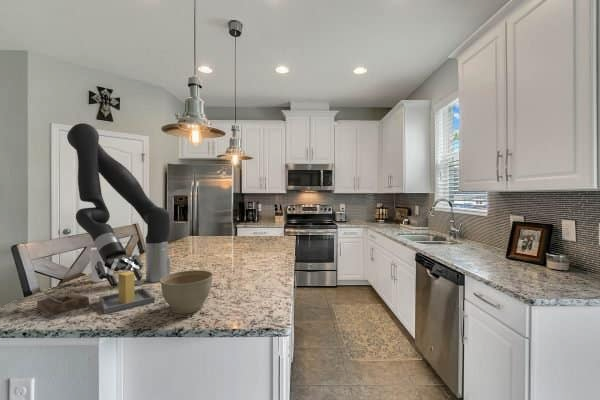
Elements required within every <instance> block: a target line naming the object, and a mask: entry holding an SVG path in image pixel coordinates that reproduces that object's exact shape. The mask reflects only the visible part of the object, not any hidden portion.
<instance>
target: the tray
mask: <svg viewBox="0 0 600 400" xmlns="http://www.w3.org/2000/svg"><path fill="white" fill-rule="evenodd" d="M134 294H135V301H133V302H129V303H121V302H119V293H117V292H116V294H115V293H112V294H106V295H102V296H99V297H98V302H99V304H100V305H99V306H101V309H102V311H103V314H104V315H108V314H113V313H115V312H121V311H124V310H129V309H134V308H136V307H141V306H146V305H150V304H154V303H156V301H155V300H156V299H155V296H154V295H153V294H152V293H151V292H149V290H147V288H146V287H144V288H143V287H142V288H141V287H140V288H138V289H134Z"/></svg>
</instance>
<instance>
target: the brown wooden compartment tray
mask: <svg viewBox="0 0 600 400" xmlns="http://www.w3.org/2000/svg"><path fill="white" fill-rule="evenodd" d="M87 305H90V297H89V296H86V295H83V294H80V293H76V292H73V291H71V292H67V293H63V294H59V295H55V296H51V297H50V296H47V297H46V298H43V299H39V300H37V301H36V309H38V310H41V311H43V312H45V313H48V314H49V315H52V316H54V315H58V314H61V313H65V312H68V311H70V310H74V309H78V308H81V307H84V306H87Z"/></svg>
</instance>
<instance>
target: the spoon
mask: <svg viewBox="0 0 600 400" xmlns="http://www.w3.org/2000/svg"><path fill="white" fill-rule="evenodd" d="M144 283H146V278H141V280H139V281H138V280H137V281H134V286H139V285H140V286H141V285H143V284H144ZM116 293H119V291H117V292H116ZM116 293H114V294H116Z"/></svg>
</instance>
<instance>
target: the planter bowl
mask: <svg viewBox="0 0 600 400" xmlns="http://www.w3.org/2000/svg"><path fill="white" fill-rule="evenodd" d="M212 281H213V272H211V271H208V270H202V269H197V270H196V269H193V270H192V269H191V270H183V271H177V272H173V273H170V274H169V275H166V276H164V277H163V278H161V280H160V281H159V282H160V286H161V294H162V296H163V298H164V300H165V301H166V303H167V305H168V306H169V307H171V310H172V312H173V313H174V314H180V315H186V314H191V313H195V312H198V311H199V310H201V309H202V308H203V307H204V303H205V301H206V300H207V298H208V296H209V294H210V291H211V289H212V283H213V282H212Z"/></svg>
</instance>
